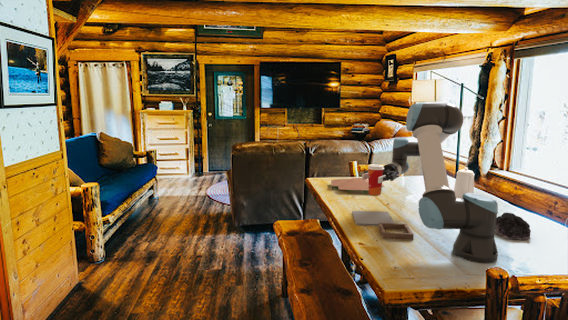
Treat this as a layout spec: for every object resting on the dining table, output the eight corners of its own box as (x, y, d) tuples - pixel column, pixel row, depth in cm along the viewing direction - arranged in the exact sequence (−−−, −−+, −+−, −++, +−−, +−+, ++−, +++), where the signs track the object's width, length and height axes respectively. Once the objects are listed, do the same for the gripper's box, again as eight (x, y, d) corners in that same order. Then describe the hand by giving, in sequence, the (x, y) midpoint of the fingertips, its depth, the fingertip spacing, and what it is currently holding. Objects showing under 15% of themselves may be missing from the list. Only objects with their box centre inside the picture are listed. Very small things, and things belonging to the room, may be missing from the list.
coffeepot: (459, 205, 196) (462, 171, 192) (448, 192, 220) (450, 163, 216) (480, 206, 193) (484, 172, 190) (466, 193, 217) (469, 163, 214)
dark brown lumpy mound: (531, 245, 145) (537, 222, 144) (494, 236, 151) (499, 214, 150) (526, 236, 157) (531, 215, 156) (492, 228, 163) (496, 207, 162)
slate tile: (395, 226, 164) (395, 224, 164) (356, 225, 166) (356, 223, 165) (387, 213, 182) (387, 211, 181) (352, 212, 183) (352, 210, 183)
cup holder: (413, 240, 149) (413, 234, 148) (383, 238, 150) (383, 233, 149) (406, 229, 161) (406, 223, 160) (378, 228, 162) (378, 222, 162)
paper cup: (370, 190, 176) (372, 163, 174) (385, 193, 172) (387, 165, 169) (363, 194, 170) (364, 165, 168) (378, 197, 166) (379, 168, 163)
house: (385, 196, 214) (386, 183, 213) (331, 194, 218) (331, 181, 217) (380, 186, 237) (381, 174, 235) (331, 184, 241) (331, 173, 239)
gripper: (410, 180, 177) (390, 190, 160) (372, 174, 190) (351, 182, 173) (411, 166, 175) (391, 174, 158) (373, 161, 189) (351, 168, 172)
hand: (370, 178), depth 166 cm, fingers closed on paper cup, 8 cm apart
